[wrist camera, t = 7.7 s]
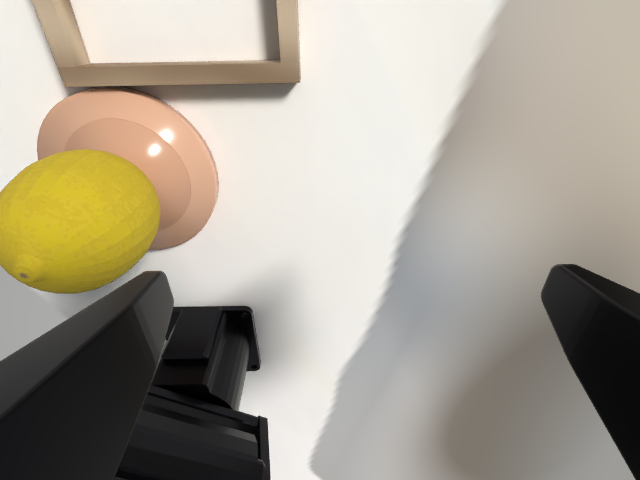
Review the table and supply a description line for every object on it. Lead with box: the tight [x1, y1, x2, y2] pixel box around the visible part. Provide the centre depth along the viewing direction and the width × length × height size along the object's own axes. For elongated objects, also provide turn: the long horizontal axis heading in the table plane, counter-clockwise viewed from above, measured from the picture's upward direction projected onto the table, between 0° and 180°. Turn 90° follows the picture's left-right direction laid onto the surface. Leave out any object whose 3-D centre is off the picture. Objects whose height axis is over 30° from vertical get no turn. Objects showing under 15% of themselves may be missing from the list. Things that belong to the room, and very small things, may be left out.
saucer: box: [37, 86, 219, 250], centre depth 19 cm, size 9×9×1 cm
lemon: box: [0, 149, 160, 293], centre depth 15 cm, size 6×6×8 cm
